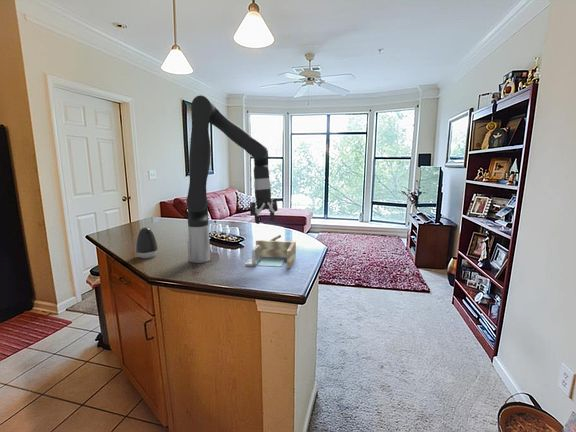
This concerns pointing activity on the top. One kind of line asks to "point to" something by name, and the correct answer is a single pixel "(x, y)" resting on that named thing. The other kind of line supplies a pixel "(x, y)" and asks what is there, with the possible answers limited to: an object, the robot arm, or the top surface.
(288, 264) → the arena
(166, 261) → the top surface
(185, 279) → the top surface
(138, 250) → the dark gray tapered dome
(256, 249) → the bracket
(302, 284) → the top surface
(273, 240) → the wall
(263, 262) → the pad
